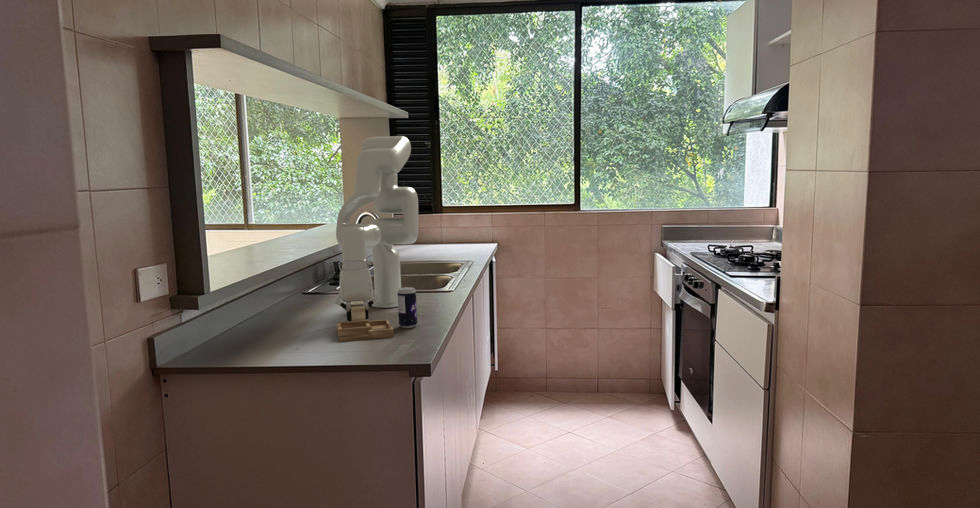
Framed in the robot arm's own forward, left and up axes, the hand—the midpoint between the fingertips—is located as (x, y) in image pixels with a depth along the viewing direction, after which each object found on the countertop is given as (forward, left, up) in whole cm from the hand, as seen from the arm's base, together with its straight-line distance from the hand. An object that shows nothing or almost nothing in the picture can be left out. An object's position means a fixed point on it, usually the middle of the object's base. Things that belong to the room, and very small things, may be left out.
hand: (357, 321), depth 207 cm
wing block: (0, 0, -1) cm, 1 cm away
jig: (+14, +1, -1) cm, 14 cm away
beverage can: (+10, +15, -1) cm, 18 cm away
